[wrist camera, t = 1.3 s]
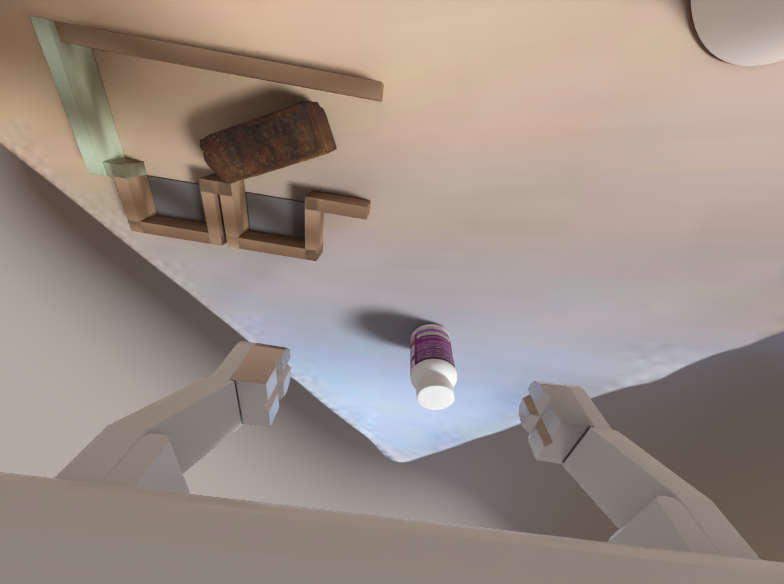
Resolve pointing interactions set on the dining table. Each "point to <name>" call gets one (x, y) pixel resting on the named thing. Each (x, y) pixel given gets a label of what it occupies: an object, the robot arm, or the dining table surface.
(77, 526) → the robot arm
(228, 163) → the brick
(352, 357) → the dining table surface
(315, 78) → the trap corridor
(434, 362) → the pill bottle
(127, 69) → the dining table surface
